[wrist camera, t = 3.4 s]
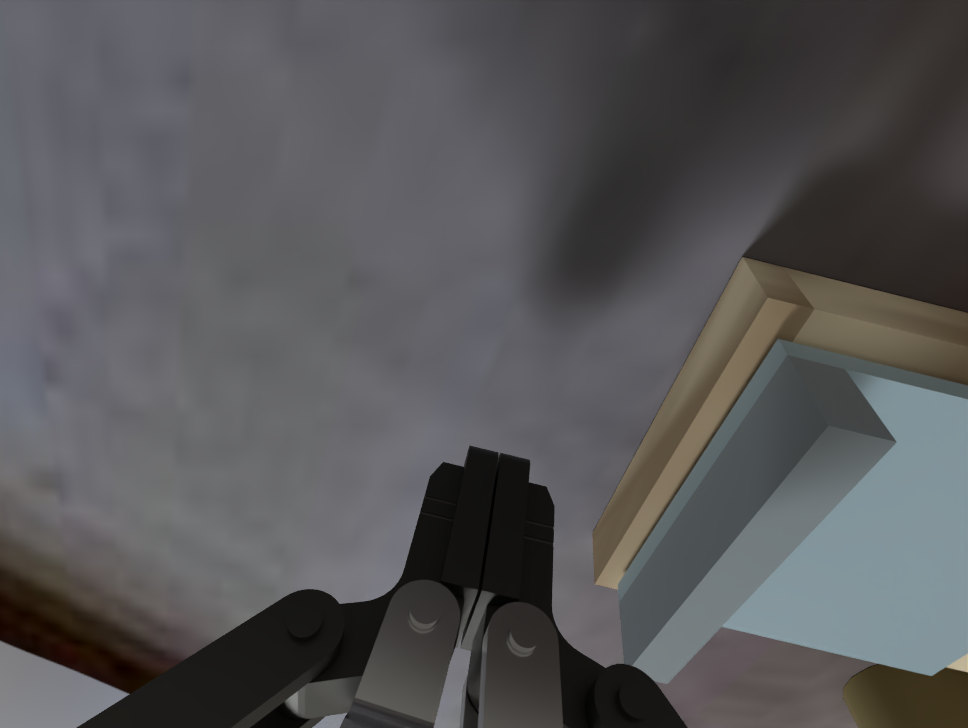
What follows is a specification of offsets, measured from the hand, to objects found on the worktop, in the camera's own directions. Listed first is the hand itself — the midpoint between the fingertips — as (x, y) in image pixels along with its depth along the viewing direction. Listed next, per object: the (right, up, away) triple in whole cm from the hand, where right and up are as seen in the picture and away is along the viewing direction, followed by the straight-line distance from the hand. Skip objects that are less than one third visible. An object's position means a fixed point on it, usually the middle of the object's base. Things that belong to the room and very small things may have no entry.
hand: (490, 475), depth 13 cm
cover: (+10, -2, +1) cm, 10 cm away
